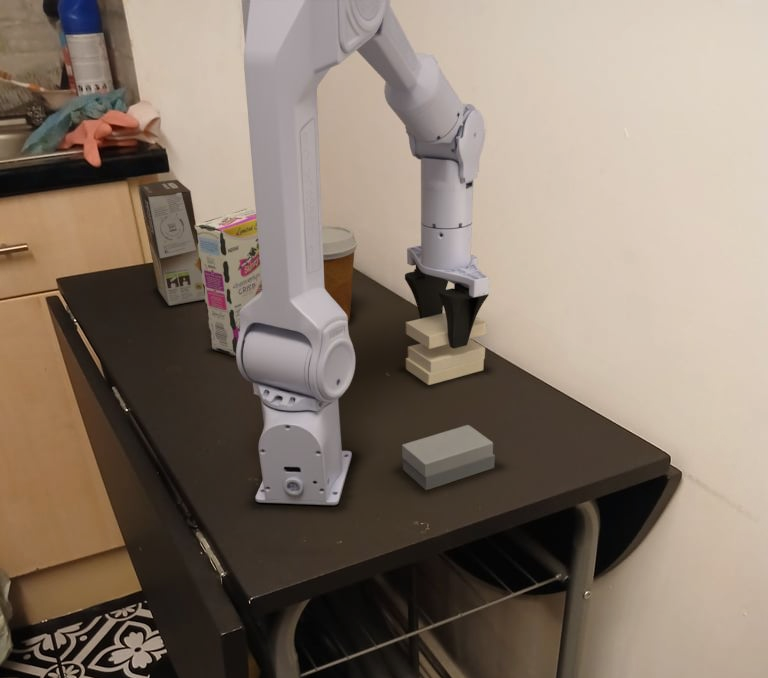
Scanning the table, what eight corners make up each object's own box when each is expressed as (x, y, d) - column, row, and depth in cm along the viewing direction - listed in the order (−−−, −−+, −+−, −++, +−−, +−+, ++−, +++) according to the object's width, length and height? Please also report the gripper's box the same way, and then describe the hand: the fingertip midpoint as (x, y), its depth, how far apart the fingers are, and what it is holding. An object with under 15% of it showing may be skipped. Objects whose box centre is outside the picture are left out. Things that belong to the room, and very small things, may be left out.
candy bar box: (239, 358, 103) (220, 230, 94) (211, 350, 106) (190, 224, 96) (293, 330, 111) (281, 208, 101) (266, 323, 113) (252, 204, 104)
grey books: (469, 448, 82) (470, 423, 81) (494, 467, 79) (496, 441, 77) (401, 470, 79) (401, 444, 77) (425, 491, 76) (425, 464, 74)
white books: (459, 355, 102) (460, 332, 100) (484, 370, 98) (485, 347, 96) (405, 369, 99) (405, 346, 97) (428, 385, 95) (428, 362, 93)
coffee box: (209, 299, 122) (192, 190, 113) (168, 307, 120) (147, 196, 111) (195, 282, 129) (177, 178, 120) (156, 289, 127) (135, 183, 118)
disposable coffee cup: (336, 336, 108) (331, 248, 102) (281, 324, 113) (272, 239, 106) (373, 314, 115) (370, 229, 108) (320, 303, 119) (313, 221, 112)
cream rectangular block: (460, 320, 99) (460, 308, 99) (485, 334, 95) (486, 322, 94) (405, 333, 96) (405, 322, 95) (429, 349, 92) (429, 336, 91)
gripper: (514, 231, 85) (507, 350, 92) (442, 203, 95) (441, 312, 103) (459, 242, 82) (456, 364, 90) (391, 212, 92) (393, 324, 100)
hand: (444, 337), depth 96 cm, fingers closed on cream rectangular block, 5 cm apart
